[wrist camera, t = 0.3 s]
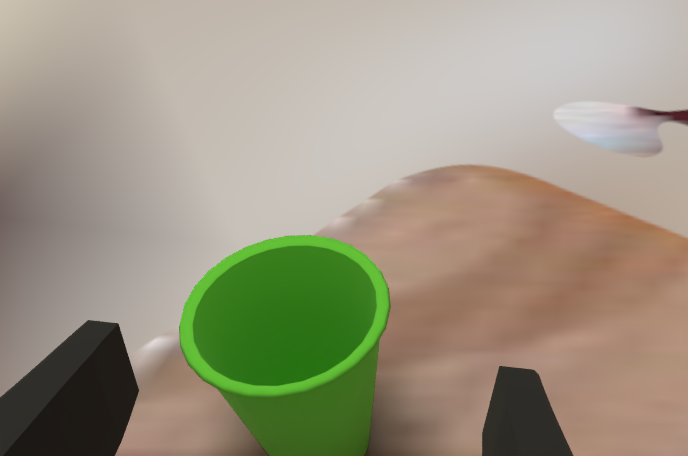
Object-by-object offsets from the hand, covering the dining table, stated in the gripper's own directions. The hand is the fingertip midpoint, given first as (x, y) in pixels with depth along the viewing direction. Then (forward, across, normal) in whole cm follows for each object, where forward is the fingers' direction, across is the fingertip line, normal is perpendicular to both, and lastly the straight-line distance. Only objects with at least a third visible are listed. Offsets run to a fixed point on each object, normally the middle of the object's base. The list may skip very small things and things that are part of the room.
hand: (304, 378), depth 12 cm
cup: (+11, +2, +20) cm, 23 cm away
